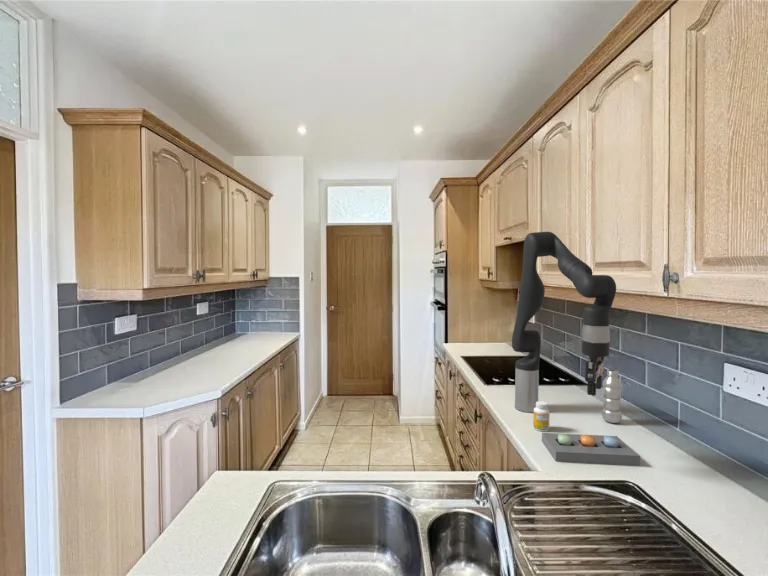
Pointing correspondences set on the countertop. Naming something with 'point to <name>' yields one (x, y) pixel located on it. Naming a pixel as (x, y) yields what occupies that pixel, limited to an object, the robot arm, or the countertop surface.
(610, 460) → the button box
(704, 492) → the countertop surface
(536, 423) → the supplement bottle
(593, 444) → the orange button
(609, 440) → the blue button
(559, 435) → the green button
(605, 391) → the plastic bottle
